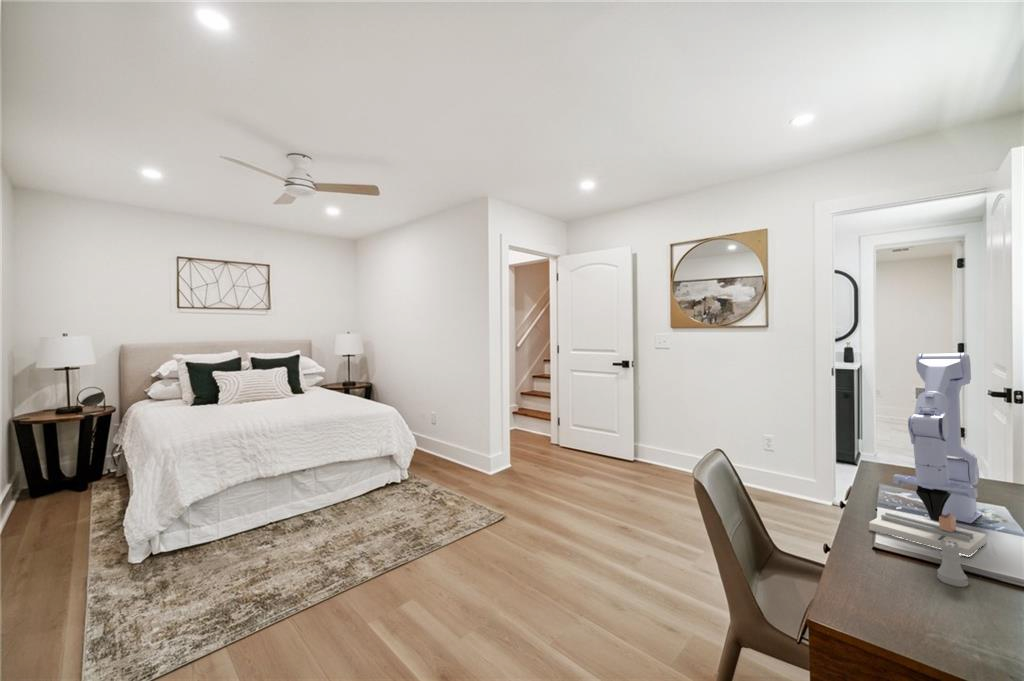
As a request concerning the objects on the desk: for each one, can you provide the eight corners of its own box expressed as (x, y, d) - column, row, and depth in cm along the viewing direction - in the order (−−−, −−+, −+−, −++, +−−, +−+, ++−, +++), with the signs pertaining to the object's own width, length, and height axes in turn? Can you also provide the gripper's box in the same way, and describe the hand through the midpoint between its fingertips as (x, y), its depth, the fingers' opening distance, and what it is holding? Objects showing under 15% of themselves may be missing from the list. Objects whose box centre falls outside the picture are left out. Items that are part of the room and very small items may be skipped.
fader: (945, 529, 102) (943, 512, 102) (956, 532, 100) (955, 514, 100) (940, 532, 100) (938, 515, 100) (951, 535, 98) (950, 518, 98)
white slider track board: (889, 517, 114) (888, 506, 114) (986, 542, 99) (985, 530, 99) (869, 529, 109) (868, 518, 109) (969, 558, 93) (968, 544, 93)
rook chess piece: (975, 588, 83) (972, 548, 83) (948, 587, 83) (945, 547, 84) (956, 576, 87) (953, 537, 87) (931, 575, 88) (928, 537, 88)
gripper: (886, 460, 106) (890, 514, 106) (968, 474, 94) (973, 534, 93) (898, 455, 110) (902, 507, 110) (978, 467, 97) (983, 526, 97)
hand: (935, 519), depth 102 cm, fingers closed
